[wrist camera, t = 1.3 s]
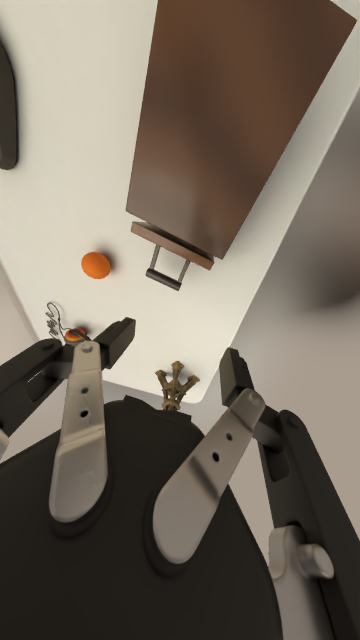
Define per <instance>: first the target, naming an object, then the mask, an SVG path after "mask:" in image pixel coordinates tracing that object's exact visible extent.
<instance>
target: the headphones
mask: <svg viewBox="0 0 360 640" xmlns="http://www.w3.org/2000/svg"><path fill="white" fill-rule="evenodd" d="M48 304H52V303H48ZM48 304H47V307H48ZM52 305H53V306H54V307H55V308H56V306H55V305H54V304H52ZM48 309H49V307H48ZM56 309H57V308H56ZM49 310H50V309H49ZM57 311H58V309H57ZM50 312H51V313H52V311H51V310H50ZM46 314H47V315H48V316H49V315H50V314H48V313H46ZM52 315H53V313H52ZM58 315H59V311H58ZM50 316H51V315H50ZM50 316H49V317H50ZM51 317H54V315H53V316H51ZM51 317H50V318H51ZM51 319H52V318H51ZM52 320H53V319H52ZM53 321H54V322H55V323H56V321H55V320H53ZM53 321H51V320H50V322H51V323H52V322H53ZM58 321H59V329H60V327H61V324H60V315H59V318H58ZM48 322H49V321H47V323H48ZM50 322H49V323H50ZM54 322H53V323H54ZM49 323H48V324H49ZM51 323H50V324H51ZM53 323H52V324H53ZM55 323H54V324H55ZM48 324H47V326H48V327H50V328H51V329H50V330H51V331H52V332H51V331H49V334H50V332H51V333H53V334H54V335H55V336H56V334H57V335H58V333H57V332H56V331H55V330H54V329H53V327H52V326H54V327H55V325H57V323H56V324H55V325H54V324H53V325H52V324H51V325H52V326H51V325H50V324H49V325H48ZM61 328H62V327H61ZM62 329H63V328H62ZM66 329H70V328H66ZM53 330H54V331H55V332H56V333H55V332H54V331H53ZM63 330H65V329H63ZM60 332H61V329H60ZM61 334H62V332H61ZM50 335H51V334H50ZM51 336H52V335H51ZM62 336H63V334H62ZM52 337H53V336H52ZM53 338H54V337H53ZM63 338H64V341H65V343H66V344H65V345H64V346H77V345H78V344H80V343H82V342H84V341H85V340H86V341H92V340H91V339H90V338H89V337H88V336H87V334H86V333H85V332H84V331H83V330H82V329H78V328H75V329H70V330H69V331H67V332H66V334H65V336H63ZM54 339H56V338H54Z"/></svg>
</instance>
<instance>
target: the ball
mask: <svg viewBox="0 0 360 640" xmlns="http://www.w3.org/2000/svg"><path fill="white" fill-rule="evenodd" d="M81 265H82V269H83V270H84V272H85V273H86V274H87V275H88V276H90V277H92V278H94V279H102V278H105V277H106V276H107V275H108V274H109V272H110V264H109V261H108V260H107V258H106V257H104V256H103V255H102V254H99V253H96V252H91V253H88V254H86V255H85V256H84V257H83V258H82V262H81Z"/></svg>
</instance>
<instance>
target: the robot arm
mask: <svg viewBox="0 0 360 640" xmlns="http://www.w3.org/2000/svg"><path fill="white" fill-rule="evenodd" d="M135 325H136V320H135V319H131V318H128V317H126V318H125V319H124V320H122V321H121V322H120V321H117V322H115V323H113V324H111V325H110V326H109V327H108V328H107V329H105V331H103V332H102V333H101V334H100V335H98V336H97V337H96V338H95V339H94V340H93V341H85V342H82V343H80V344H78V345H77V346H62V342H61V341H60V340H59V339H54V338H50V339H44V340H41V341H39V342H37V343H35V344H34V345H32V346H31V347H29V348H27V349H26V350H24V351H23V352H21V353H20V354H18V355H16V356H15V357H13V358H12V359H10V360H9V361H7V362H5V363H4V364H2V365H1V366H0V459H1V458H2V455H3V453H4V452H5V450H6V449H7V446H8V444H9V437H10V436H11V435H12V433H14V432H15V431H16V429H17V428H18V427H19V426H20V425H21V424H22V423H23V422H24V421H25V420H26V419H27V418H28V417H29V416H30V415H31V414H32V413H33V412H34V411H35V410H36V409H37V407H38V406H39V405H40V404H41V403H42V402H43V401H44V400H45V399H46V398H47V397H48V396H49V395H50V394H51V393H52V392H53V391H54V390H55V389H56V388H57V387H58V386H59V385H60V384H61V383H62V381H63V380H64V379H68V383H67V390H66V397H65V405H64V412H63V420H62V427H61V429H60V430H58V431H56V432H54V433H53V434H51V435H49V436H48V437H46V438H44V439H42V440H41V441H39V442H37V443H36V444H34V445H32V446H30V447H28V448H27V449H25V450H23V451H21V452H20V453H18V454H16V455H15V456H13V457H11V458H9V459H8V460H6V461H4V462H2V463H1V464H0V640H360V541H359V539H358V537H357V534H356V532H355V530H354V528H353V526H352V524H351V521H350V519H349V517H348V515H347V513H346V511H345V509H344V507H343V505H342V503H341V501H340V498H339V496H338V494H337V492H336V490H335V488H334V486H333V484H332V481H331V479H330V477H329V475H328V473H327V471H326V469H325V467H324V465H323V462H322V460H321V458H320V456H319V454H318V452H317V450H316V448H315V445H314V443H313V441H312V439H311V437H310V435H309V433H308V431H307V428H306V427H305V425H304V423H303V422H302V421H301V419H300V418H299V417H298V416H296V415H295V414H294V413H292V412H290V411H288V410H282V411H280V412H277V411H275V410H274V409H272V408H270V407H269V406H267V405H265V402H264V400H263V398H262V397H261V396H260V395H259V394H258V393H257V392H256V391H255V390H254V386H253V383H252V380H251V376H250V374H249V370H248V367H247V363H246V362H245V361H244V359H243V358H241V357H240V356H239V353H238V350H236V349H233V348H229V347H228V348H227V349H226V351H225V353H224V355H223V357H222V359H221V361H220V365H219V370H220V382H221V395H222V405H224V406H227V407H228V409H227V410H226V412H225V413H224V414H223V415H222V416H221V418H220V419H219V420H218V421H217V423H216V424H215V425H214V426H213V428H212V429H211V430H210V431H209V432H208V434H207V435H206V436H204V434H203V433H202V432H201V430H200V429H199V428H198V427H197V426H196V425H195V424H193V423H192V422H191V415H187V414H184V413H181V412H178V411H172V410H156V409H154V408H153V407H152V406H150V405H149V404H147V403H146V402H144V401H142V400H140V399H137V398H134V397H131V396H127V395H126V396H125V397H124V399H123V400H117V401H112V402H108V403H106V404H104V398H103V384H102V371H103V370H104V368H107V369H111V368H112V366H113V365H114V364H115V363H116V361H117V360H118V359H119V357H120V356H121V355H122V354H123V352H124V351H125V350H126V348H127V347H128V346H129V344H130V343H131V342H132V340H133V338H134V335H135ZM40 371H41V372H40ZM39 372H40V373H39ZM37 373H38V374H37ZM36 374H37V375H36ZM35 375H36V376H35ZM34 376H35V377H34ZM33 377H34V378H33ZM31 378H33V379H31ZM30 379H31V380H30ZM29 380H30V381H29ZM28 381H29V382H28ZM27 382H28V383H27ZM252 437H253V438H255V439H256V440H257V441H258V447H259V452H260V457H261V462H262V468H263V473H264V478H265V483H266V488H267V494H268V499H269V504H270V509H271V514H272V519H273V525H274V529H273V530H272V531H271V533H270V536H269V566H267V563H266V561H265V559H264V556H263V554H262V552H261V550H260V548H259V546H258V544H257V542H256V540H255V538H254V536H253V534H252V532H251V530H250V527H249V526H248V524H247V521H246V519H245V517H244V515H243V513H242V511H241V509H240V507H239V505H238V503H237V501H236V499H235V497H234V494H233V492H232V490H231V489H230V486H229V484H228V482H229V480H230V478H231V476H232V474H233V473H234V471H235V469H236V467H237V465H238V463H239V461H240V459H241V457H242V455H243V453H244V451H245V450H246V448H247V446H248V444H249V442H250V440H251V438H252Z"/></svg>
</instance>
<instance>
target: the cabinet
mask: <svg viewBox="0 0 360 640" xmlns="http://www.w3.org/2000/svg"><path fill="white" fill-rule="evenodd" d="M356 22H357V20H356V19H355V18H354V17H352V16H351V15H349V14H348V13H347V12H345V11H344V10H343V9H341V8H340V7H338V6H337V5H336V4H334V3H333V2H332V1H330V0H158V4H157V11H156V17H155V24H154V30H153V37H152V43H151V50H150V56H149V63H148V69H147V76H146V82H145V89H144V95H143V102H142V108H141V115H140V121H139V128H138V134H137V141H136V147H135V154H134V160H133V167H132V173H131V180H130V186H129V193H128V199H127V206H126V211H127V212H129V213H131V214H133V215H135V216H137V217H139V218H141V219H143V220H145V221H147V222H149V223H151V224H152V225H154V226H156V227H158V228H160V229H162V230H164V231H166V232H168V233H170V234H172V235H174V236H176V237H178V238H180V239H182V240H184V241H186V242H188V243H190V244H192V245H194V246H196V247H198V248H200V249H202V250H204V251H206V252H208V253H210V254H212V255H214V256H216V257H218V258H220V259H223V258H224V256H225V254H226V252H227V251H228V249H229V247H230V245H231V243H232V242H233V240H234V238H235V236H236V235H237V233H238V231H239V229H240V228H241V226H242V224H243V222H244V220H245V219H246V217H247V215H248V213H249V212H250V210H251V208H252V206H253V205H254V203H255V201H256V199H257V197H258V196H259V194H260V192H261V190H262V189H263V187H264V185H265V183H266V182H267V180H268V178H269V176H270V174H271V173H272V171H273V169H274V167H275V166H276V164H277V162H278V160H279V159H280V157H281V155H282V153H283V151H284V150H285V148H286V146H287V144H288V143H289V141H290V139H291V137H292V136H293V134H294V132H295V130H296V128H297V127H298V125H299V123H300V121H301V120H302V118H303V116H304V114H305V113H306V111H307V109H308V107H309V105H310V104H311V102H312V100H313V98H314V97H315V95H316V93H317V91H318V89H319V88H320V86H321V84H322V82H323V81H324V79H325V77H326V75H327V74H328V72H329V70H330V68H331V66H332V65H333V63H334V61H335V59H336V58H337V56H338V54H339V52H340V51H341V49H342V47H343V45H344V43H345V42H346V40H347V38H348V36H349V35H350V33H351V31H352V29H353V28H354V26H355V24H356Z"/></svg>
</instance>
